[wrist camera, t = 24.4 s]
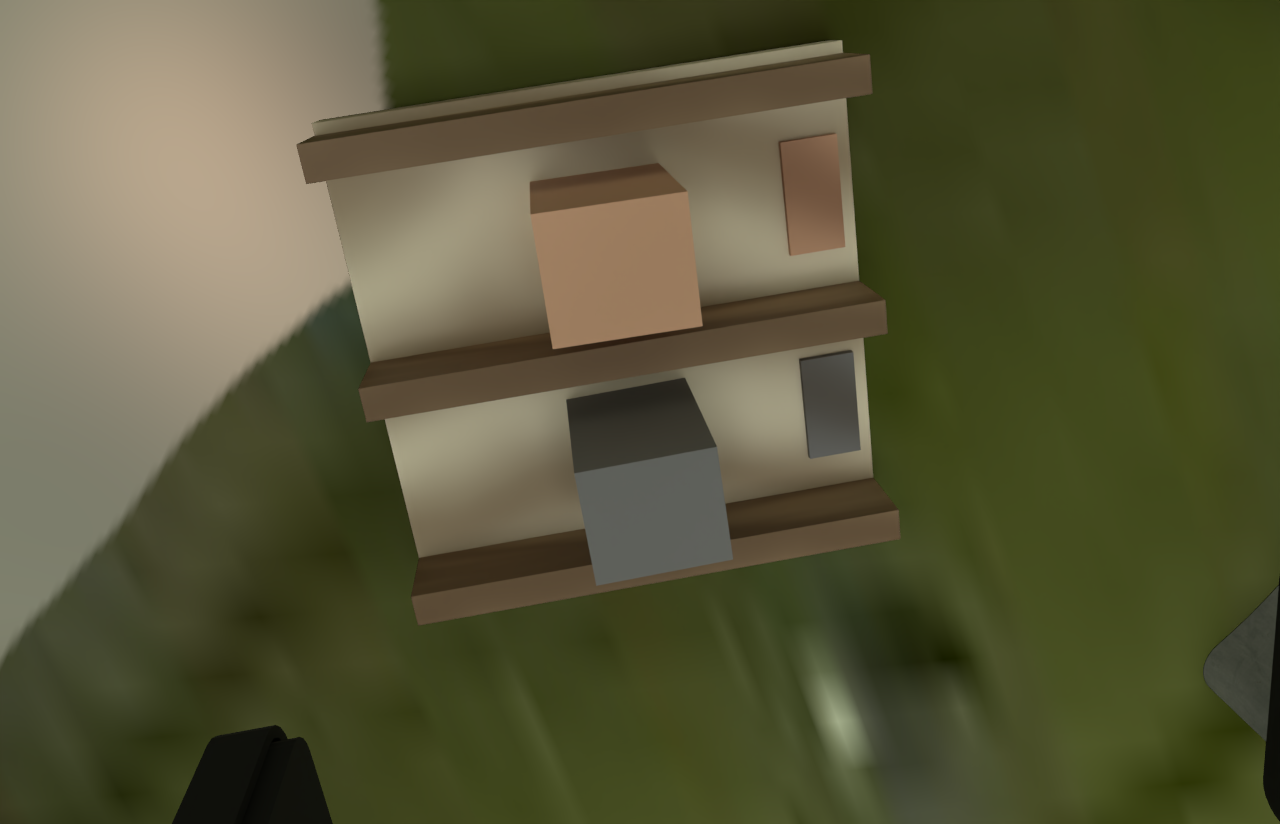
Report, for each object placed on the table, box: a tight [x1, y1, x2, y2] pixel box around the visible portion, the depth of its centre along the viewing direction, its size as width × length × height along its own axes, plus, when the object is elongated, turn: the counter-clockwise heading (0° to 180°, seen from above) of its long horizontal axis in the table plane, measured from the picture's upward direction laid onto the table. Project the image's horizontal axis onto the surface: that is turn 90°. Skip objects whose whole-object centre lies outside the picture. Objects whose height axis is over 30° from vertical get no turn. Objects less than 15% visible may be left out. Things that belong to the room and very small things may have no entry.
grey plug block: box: [566, 378, 733, 586], centre depth 36 cm, size 4×4×7 cm
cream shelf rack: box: [297, 40, 900, 625], centre depth 38 cm, size 18×18×4 cm
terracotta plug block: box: [530, 163, 703, 349], centre depth 34 cm, size 4×4×7 cm
